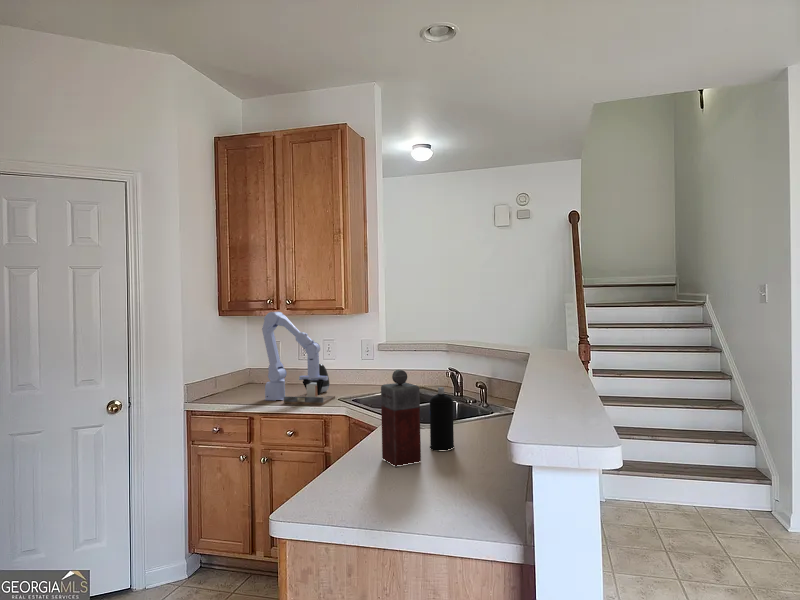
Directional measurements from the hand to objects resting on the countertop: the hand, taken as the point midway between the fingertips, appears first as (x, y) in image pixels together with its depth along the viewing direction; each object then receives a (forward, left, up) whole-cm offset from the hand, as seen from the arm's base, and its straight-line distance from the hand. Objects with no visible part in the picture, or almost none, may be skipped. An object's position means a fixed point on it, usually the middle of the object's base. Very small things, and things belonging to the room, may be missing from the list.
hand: (313, 394), depth 263 cm
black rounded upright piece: (-5, +21, -3) cm, 22 cm away
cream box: (0, 0, -2) cm, 2 cm away
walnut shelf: (-1, -2, -3) cm, 4 cm away
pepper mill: (+64, -88, -3) cm, 109 cm away
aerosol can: (+75, -73, -3) cm, 105 cm away
